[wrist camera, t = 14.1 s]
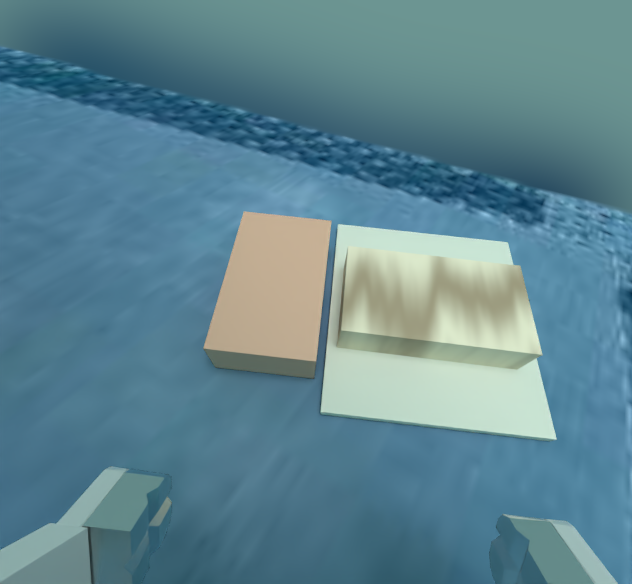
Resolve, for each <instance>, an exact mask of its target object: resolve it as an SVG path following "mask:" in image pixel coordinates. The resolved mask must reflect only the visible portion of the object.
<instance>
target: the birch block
mask: <svg viewBox="0 0 632 584" xmlns="http://www.w3.org/2000/svg"><path fill="white" fill-rule="evenodd" d="M337 347H338V348H346V349H354V350H362V351H370V352H378V353H386V354H394V355H402V356H410V357H418V358H427V359H435V360H443V361H451V362H459V363H467V364H475V365H483V366H491V367H499V368H508V369H516V370H517V369H519V368H521V367H522V366H524V365H526V364H528V363H529V362H531V361H533V360H534V359H536V358H538V357H539V356H541V355H542V352H541V348H540V344H539V340H538V336H537V332H536V327H535V323H534V319H533V315H532V311H531V307H530V303H529V299H528V295H527V291H526V287H525V283H524V279H523V275H522V271H521V267H520V266H517V265H508V264H500V263H491V262H483V261H474V260H465V259H457V258H448V257H440V256H431V255H422V254H414V253H405V252H397V251H388V250H380V249H371V248H362V247H354V246H348V249H347V254H346V259H345V265H344V272H343V283H342V294H341V306H340V317H339V329H338V340H337Z"/></svg>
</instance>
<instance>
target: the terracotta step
mask: <svg viewBox="0 0 632 584" xmlns="http://www.w3.org/2000/svg"><path fill="white" fill-rule="evenodd" d="M330 229H331V221H327V220H318V219H309V218H299V217H290V216H281V215H271V214H262V213H253V212H244V213H243V216H242V220H241V223H240V226H239V230H238V233H237V237H236V240H235V243H234V247H233V250H232V253H231V257H230V260H229V264H228V267H227V270H226V274H225V277H224V280H223V284H222V287H221V291H220V294H219V297H218V301H217V304H216V307H215V311H214V314H213V318H212V321H211V324H210V328H209V331H208V334H207V338H206V341H205V344H204V348H203V349H204V350H205V352H206V354H207V355H208V357H209V358H210V360H211V361H212V363H213V364H214V366H215V367H217V368H226V369H235V370H243V371H252V372H261V373H269V374H278V375H287V376H295V377H304V378H313V379H314V375H315V367H316V358H317V349H318V340H319V331H320V321H321V312H322V303H323V294H324V284H325V275H326V266H327V257H328V248H329V238H330Z"/></svg>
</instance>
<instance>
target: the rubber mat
mask: <svg viewBox="0 0 632 584" xmlns="http://www.w3.org/2000/svg"><path fill="white" fill-rule="evenodd" d="M348 246H354V247H362V248H371V249H380V250H388V251H397V252H405V253H414V254H422V255H431V256H440V257H448V258H457V259H465V260H474V261H483V262H491V263H500V264H508V265H513V262H512V258H511V254H510V250H509V246H508V242H499V241H490V240H480V239H471V238H462V237H452V236H443V235H434V234H424V233H415V232H406V231H396V230H387V229H378V228H368V227H359V226H350V225H341V224H338V229H337V240H336V251H335V261H334V272H333V283H332V293H331V304H330V315H329V325H328V336H327V347H326V357H325V368H324V379H323V389H322V400H321V411H320V414H323V415H331V416H340V417H348V418H357V419H365V420H374V421H382V422H391V423H400V424H408V425H417V426H425V427H434V428H442V429H451V430H459V431H468V432H476V433H485V434H493V435H502V436H510V437H519V438H527V439H536V440H544V441H553V440H557V439H556V435H555V431H554V427H553V423H552V419H551V415H550V411H549V407H548V403H547V399H546V395H545V391H544V387H543V383H542V379H541V375H540V371H539V367H538V363H537V359H534V360H533V361H531V362H529V363H528V364H526V365H524V366H522V367H521V368H519V369H517V370H516V369H508V368H499V367H491V366H483V365H475V364H467V363H459V362H451V361H443V360H435V359H427V358H418V357H410V356H402V355H394V354H386V353H378V352H370V351H362V350H354V349H346V348H338V347H337V340H338V329H339V317H340V306H341V294H342V283H343V272H344V265H345V259H346V254H347V249H348Z"/></svg>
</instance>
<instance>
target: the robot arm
mask: <svg viewBox="0 0 632 584" xmlns="http://www.w3.org/2000/svg"><path fill="white" fill-rule="evenodd" d="M171 489H172V476H170V475H169V474H162V473H156V472H149V471H142V470H135V469H125V468H119V467H112V466H110V467H108V468H107V469H105V470H104V471H103V472H102V473H101V474H100V475H99V476H98V477H97V478H96V479H95V481H94V482H93V483H92V484H91V485H90V486H89V487H88V488H87V490H86V491H85V492H84V493H83V494H82V495H81V496H80V498H79V499H78V500H77V501H76V502H75V503H74V504H73V505H72V507H71V508H70V509H69V510H68V511H67V512H66V513H65V514H64V516H63V517H62V518H61V519H60V520H59V521H58V522H57V523H56V524H54V523H49V524H47V525H45V526H43V527H42V528H40V529H38V530H36V531H34V532H32V533H30V534H29V535H27V536H25V537H23V538H21V539H19V540H18V541H16V542H14V543H12V544H10V545H8V546H7V547H5V548H3V549H1V550H0V584H141V583H142V581H143V579H144V577H145V575H146V573H147V571H148V569H149V556H150V555H151V554H152V553H154V552H155V551H156V550H157V549H159V548H160V546H161V544H162V542H163V540H164V538H165V536H166V533H167V530H168V527H169V523H170V519H171V513H172V502H171V501H170V499H169V498H168V497H167V496H168V494H169V492H170V490H171ZM496 528H497V530H498V532H499V534H500V535H499V536H498V537H497V538H496V539H494V540H493V541H492V542H491V547H490V551H489V559H490V568H491V572H492V576H493V579H494V581H495V584H618V583H617V582H616V581H615V579H614V578H613V577H612V576H611V574H610V573H609V572H608V570H607V569H606V568H605V567H604V565H603V564H602V563H601V561H600V560H599V559H598V557H597V556H596V555H595V554H594V552H593V551H592V550H591V548H590V547H589V546H588V545H587V543H586V542H585V541H584V539H583V538H582V537H581V536H580V534H579V533H578V532H577V530H576V529H575V528H574V527H573V526H572V525H571V524H570V523H568V522H567V521H560V520H551V519H540V518H531V517H522V516H513V515H504V514H502V515H501V516H500V517H499V518H498V521H497V525H496Z"/></svg>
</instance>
